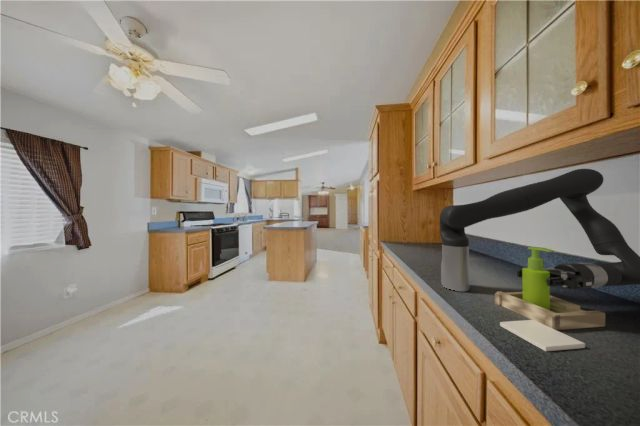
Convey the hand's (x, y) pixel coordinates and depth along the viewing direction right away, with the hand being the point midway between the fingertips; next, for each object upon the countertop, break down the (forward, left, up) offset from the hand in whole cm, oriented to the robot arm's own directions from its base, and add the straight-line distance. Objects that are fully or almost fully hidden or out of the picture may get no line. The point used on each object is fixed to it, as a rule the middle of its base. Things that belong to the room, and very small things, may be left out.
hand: (532, 277), depth 66 cm
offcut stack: (0, +8, -11) cm, 14 cm away
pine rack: (0, +4, -11) cm, 12 cm away
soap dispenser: (0, +2, -11) cm, 11 cm away
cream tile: (+10, -10, -11) cm, 18 cm away
